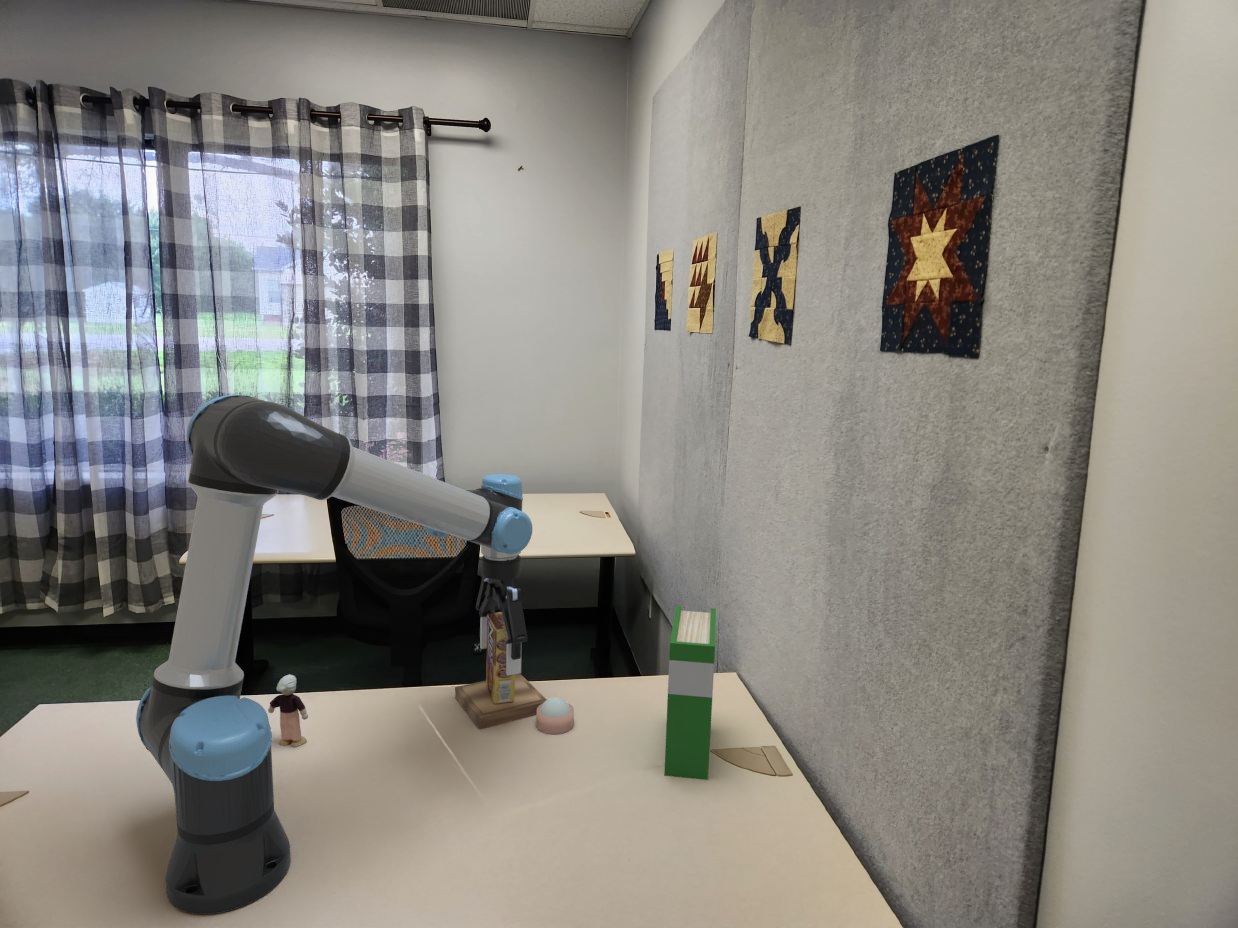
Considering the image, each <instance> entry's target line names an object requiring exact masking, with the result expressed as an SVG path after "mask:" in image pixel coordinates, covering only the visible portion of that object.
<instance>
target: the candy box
mask: <svg viewBox="0 0 1238 928" xmlns="http://www.w3.org/2000/svg"><path fill="white" fill-rule="evenodd" d="M507 640H509V639H508V635H507V631H506V627H505V623H504V619H503V615H502V611H498V612H494V613H491V614H487V648H486V664H485V665H486V667H485V668H486V673H485V674H486V675H485V676H486V678H485V680H486V686H487V688H488V690H489V693H490V695H491V697H492V699H493V702H494V704H499V703H508V702H514V689H515V674H513V675H509V676H507V675H506V649H507V644H506V641H507Z"/></svg>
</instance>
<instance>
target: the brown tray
mask: <svg viewBox="0 0 1238 928" xmlns="http://www.w3.org/2000/svg"><path fill="white" fill-rule="evenodd" d="M454 698H455V699H456V701H457V702H458V703H459V704H460V706H461V707H462V709H464V711H465V712H466V713H467V715H468V716H469V717H470V718H471V720H472V721H473V722H474V723H475V724H476V726H477V727H478V729H479V730H484V729H487V728H491V727H496V726H499V725H503V724H507V723H512V722H516V721H519V720H522V719H526V718H529V717H530V718H531V717H534V716H537V708H538V706H539V705H541V704H543V703H544V702H545V701H546V700H548V699H547V698H546V697H545V696H544V695H543V694H541V692H540V691H538V689H537V688H535V686H534V685H532V683H530V682H529V681H528V680H527V679H526V678H525V676H523V675H522V673H518V674H515V689H514V702H508V703H499V704H494V702H493V699H492V697H491V695H490V693H489V690H488V688H487V686H486V679H485V680H481V681H477V682H473V683H468V684H463V685H458V686H455V687H454Z"/></svg>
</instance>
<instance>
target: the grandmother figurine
mask: <svg viewBox="0 0 1238 928" xmlns="http://www.w3.org/2000/svg"><path fill="white" fill-rule="evenodd" d="M296 689H297V677H296V676H295V675H293V674H287V675H284V676H283V677H282V678H280V680H279V681H278V683H277V686H276V691H277V692H280V693H281V694H279V695H277V696H275V697H274V698H272V700H271V701H270V702H269V708H268V709H267V712H268V713H270V714H273V713H274V712H275V709H277V708H279V712H280V713H279V714H280V715H279V727H280V734H281V735H280V736H281V740H280V742H279V745H280V746H287V745H289V744H290V746H291V747H293V748H295V747H296V748H297V747H300V746H302V745H305V744H306V743H307V741H308V740H307V738H306V737H305V736H302V730H301V723H300V722H301V721H300V720H301V719H302V720H307V719H308V718H309V714H308V713H307V709H306V706H305V704H304V703H303V701H302V699H301V697H300V696H298V695H296V694H294V693H295V692H296ZM300 716H301V719H300Z"/></svg>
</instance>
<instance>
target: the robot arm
mask: <svg viewBox="0 0 1238 928" xmlns="http://www.w3.org/2000/svg"><path fill="white" fill-rule="evenodd" d="M186 442H187V447H188V450H189V452H190V454H191V456H192V458H191V465H190V469H189V475H188V482H187V485H188V486H189V487H190V488H191V489H192V491H194V493H195V494H196V496H197V497H196V498H197V500H196V504H195V505H196V506H195V510H194V514H193V515H194V517H193V521H192V528H191V533H190V537H189V538H190V539H189V542H188V543H189V544H188V548H187V554H186V555H187V556H186V561H185V566H184V572H183V577H182V583H181V588H180V594H179V598H178V599H179V601H178V605H177V606H178V607H177V611H176V612H177V613H176V617H175V623H174V628H173V634H172V638H171V646H170V652H169V657H168V658H167V659H168V660H166V661H165V662H164V663H162V664H160V665H159V666H158V667H156V669H155V670H154V672H153V677H152V682H151V686H150V687H148V688H147V689H146V691H145V692H144V693H143V695H142V696H141V699H140V700H139V703H138V706H137V710H136V717H135V718H136V719H135V721H136V722H135V723H136V727H137V733H138V736H139V738H140V741H141V743H142V744H143V746H144V747H145V749H146V750H147V751H148V752H150V754H151V756H152V757H153V758H154V759H155V761H156V762H157V764H158V765H159V767H160V768H161V769H162V771H163V772H164V774H165V775H166V777H167V778H168V780H169V782H170V783H171V785H172V788H173V793H174V804H175V807H174V808H175V817H176V819H175V820H176V827H177V828H176V829H177V835H176V839H175V842H174V846H173V849H172V852H171V856H170V859H169V861H168V862H169V863H168V866H167V869H166V873H165V887H166V896H167V899H168V901H169V903H170V904H171V905H172V906H174V908H176V909H178V910H179V911H181V912H184V913H189V914H195V915H211V914H219V913H224V912H228V911H229V912H230V911H233V910H235V909H239V908H241V907H244V906H247V905H249V904H251V903H253V902H254V901H257V900H258V899H260V898H262V897H264V896H265V895H267V894H268V893H269V892H270V891H272V890H273V889H275V887H277V886H278V884H280V883H281V882H282V880H283V879H285V876H286V875H287V873H288V872H289V869H290V866H291V863H292V862H291V854H292V853H291V844H290V840H289V837H288V835H287V833H286V831H285V830H284V827H283V825H282V823H281V821H280V818H279V817H278V815H277V812H276V811H275V801H274V781H273V780H274V779H273V778H274V777H273V775H274V774H273V759H272V758H273V757H272V739H273V733H272V730H271V729H272V727H271V724H270V721H269V716H268V713H267V711H266V709H265V708H264V707H263V706H262V705H261V704H260V703H259V702H258V701H256V700H254V699H251V698H249V697H246V696H245V697H241V692H242V689H243V683H244V677H245V674H244V673H245V672H244V671H243V670H242V669H241V667H240V666H239V665H238V664H237V663H236V659H237V652H238V646H239V641H240V636H241V635H240V634H241V631H242V625H243V620H244V613H245V608H246V603H247V595H248V591H249V585H250V582H251V581H250V580H251V575H252V569H253V563H254V558H255V553H256V547H257V542H258V538H259V537H258V535H259V531H260V525H261V520H262V519H261V518H262V513H263V508H264V505H265V504H266V503H267V502H268V501H270V500H272V499H273V498H274V497H276V496H277V493H278V491H281V492H286V493H287V492H288V493H293V494H296V495H297V494H298V495H301V496H305V497H309V498H312V499H315V500H318V501H326V500H328V499H330V498H331V497H334V498H336V499H339V500H342V501H345V502H348V503H352V504H354V505H357V506H360V507H364V508H367V509H369V510H373V511H377V512H380V513H382V514H385V515H389V516H391V517H395V518H398V519H401V520H404V521H407V522H410V523H414V524H416V525H419V526H423V527H424V529H425V531H426V532H427V533H428V534H429V536H431V537H434V538H441V537H444V538H447V537H449V536H454V537H456V538H458V539H459V538H460V539H462V540H466V541H468V542H470V543H473V544H474V543H475V544H476V545H479V546H480V553H481V555H482V556H481V557H480V560H481V561H480V562H481V567H480V568H481V569H480V573H481V582H480V587H479V591H478V595H477V600H476V602H475V603H476V604H475V609H476V611H478V614H479V617H480V620H479V621H480V627H479V638H480V641H479V648H480V649H481V650H484V649H487V614H491V613H496V611H495V608H496V607H497V608H498V610H500V612H502V615H503V619H504V623H505V627H506V631H507V635H508V639H509V640H507V641H506V644H507V649H506V675H507V676H509V675H513V674H518V673H520V674H522V643H525V642H528V634H527V633H528V632H527V627H526V620H525V614H524V608H523V604H522V603H523V602H522V590H521V588H520V587H517V588H516V587H515V586H514V579H516V578H519V576H520V575H521V572H522V557H521V556H520V555H521V553H522V551H523V550H524V549H526V548H527V546H528V545H529V543H530V541H531V538H532V536H533V523H532V520H531V518H530V516H529V515H528V514H527V513H525V512H524V511H523V500H524V497H523V483H522V480H521V478H520V477H519V476H517V475H513V474H508V473H493V474H488V475H485V476H483V477H482V479H481V484H480V487H479V488H476V489H469V490H465V489H464V488H461V487H459V486H455V485H453V484H450V483H448V482H445V481H443V480H440V479H437V478H435V477H432V476H430V475H428V474H425V473H422V472H419V471H417V470H414V469H412V468H409V467H407V466H403V465H401V464H399V463H397V462H394V461H391V460H388V459H386V458H383V457H382V456H381V457H380V456H378V455H375V454H373V453H371V452H368V451H365V450H362V449H360V448H358V447H355V446H353V444H352V441H351V439H349V437H348V436H346V435H344V434H341V433H338V432H337V431H334V430H332V429H329V428H328V427H326V426H324V425H322V424H320V423H317V422H315V421H313V420H312V419H310V418H307V417H306V416H304V415H302V414H301V413H299V412H297V411H295V410H294V409H291V408H289V407H287V406H285V405H283V404H279V403H277V402H273V401H269V400H268V401H267V400H263V399H261V398H260V399H259V398H257V397H253V396H249V395H246V394H245V395H242V394H232V395H222V396H217V397H215V398H213V399H210V400H209V401H207V402H205V403H204V404H202V405H200V407H199V408H197V410H196V411H195V412H193V414H192V416H191V418H190V419H189V421H188V425H187V428H186Z"/></svg>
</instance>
